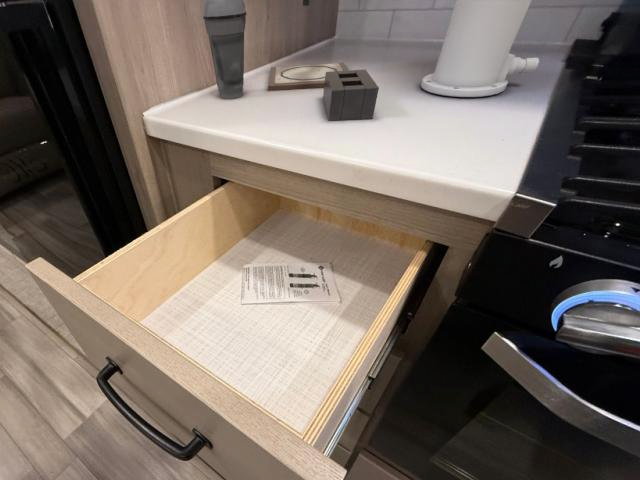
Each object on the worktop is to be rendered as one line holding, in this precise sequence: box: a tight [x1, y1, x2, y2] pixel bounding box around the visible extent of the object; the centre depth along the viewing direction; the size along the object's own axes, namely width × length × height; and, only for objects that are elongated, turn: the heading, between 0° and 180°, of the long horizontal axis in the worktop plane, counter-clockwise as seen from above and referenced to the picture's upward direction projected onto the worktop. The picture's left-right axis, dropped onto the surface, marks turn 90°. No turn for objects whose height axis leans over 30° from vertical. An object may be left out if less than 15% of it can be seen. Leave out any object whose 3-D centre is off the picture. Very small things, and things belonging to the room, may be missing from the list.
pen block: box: [322, 68, 380, 122], centre depth 50 cm, size 6×11×4 cm, turn 174°
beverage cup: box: [202, 0, 247, 100], centre depth 54 cm, size 7×7×20 cm
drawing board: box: [267, 61, 349, 91], centre depth 66 cm, size 16×16×1 cm
